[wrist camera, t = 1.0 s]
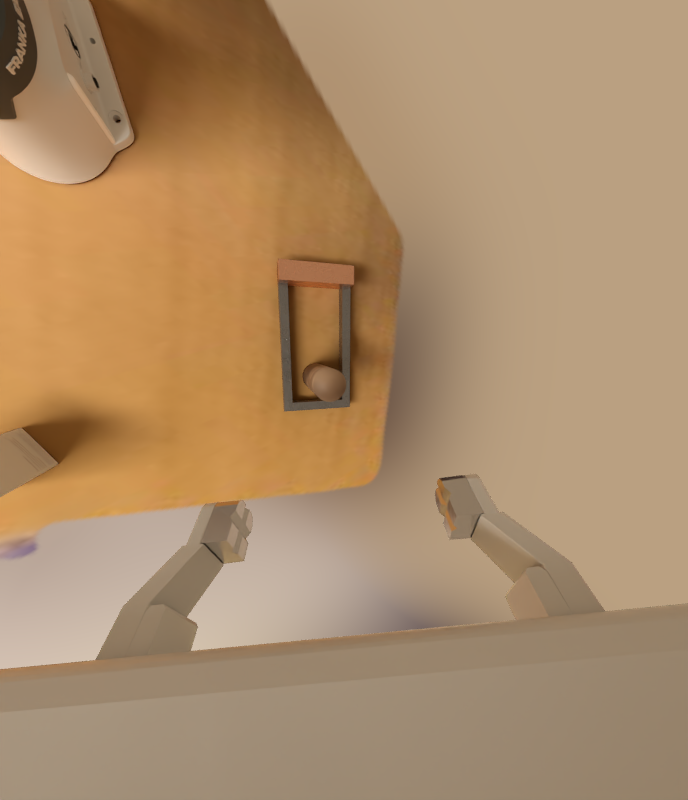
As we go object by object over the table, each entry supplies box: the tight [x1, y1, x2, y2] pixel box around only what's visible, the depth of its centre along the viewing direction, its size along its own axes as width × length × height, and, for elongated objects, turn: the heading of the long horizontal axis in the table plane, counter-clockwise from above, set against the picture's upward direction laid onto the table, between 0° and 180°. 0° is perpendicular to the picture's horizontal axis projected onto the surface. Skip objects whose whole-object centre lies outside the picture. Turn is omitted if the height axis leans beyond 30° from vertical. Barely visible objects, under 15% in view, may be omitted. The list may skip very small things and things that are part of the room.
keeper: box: [303, 363, 346, 402], centre depth 44 cm, size 5×5×12 cm
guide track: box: [277, 259, 354, 411], centre depth 46 cm, size 25×12×4 cm, turn 0°
